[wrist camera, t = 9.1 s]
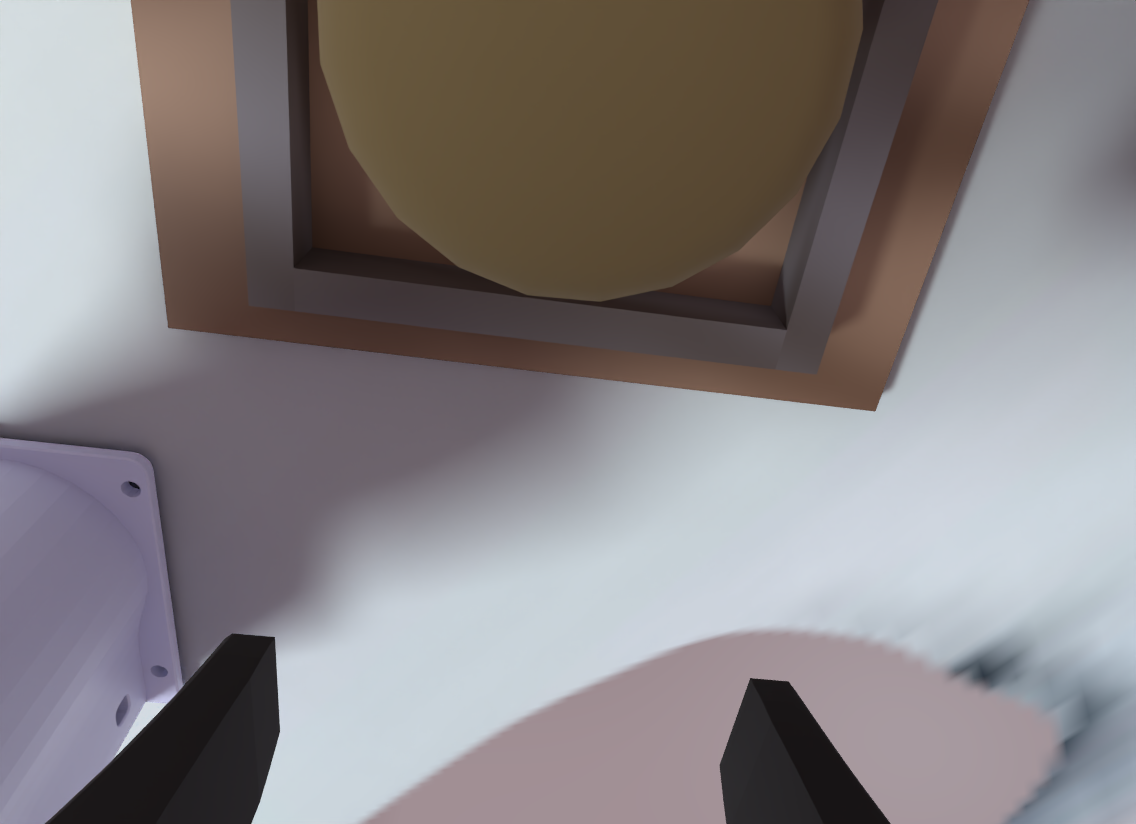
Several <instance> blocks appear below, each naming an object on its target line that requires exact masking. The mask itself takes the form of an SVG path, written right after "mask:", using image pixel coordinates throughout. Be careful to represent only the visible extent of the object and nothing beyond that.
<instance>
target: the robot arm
mask: <svg viewBox="0 0 1136 824" xmlns="http://www.w3.org/2000/svg"><path fill="white" fill-rule="evenodd" d="M128 481H130V482H134V483H136V484H137V485H138V486H139V487H140V489H137V488H134V487H132V486H131V485H130V484H129V482H128ZM161 666H163V667H161ZM145 702H156V703H167V704H166V706H165V707H164V708H163V709H162V710H161V711H160V712H159V713H158V714H157V715H156V716H155V717H154V718H153V719H152V720H151V721H150V722H149V723H148V724H147V725H146V726H145V727H144V728H143V729H142V731H141V732H140V733H139V734H138V735H137V736H136V737H135V738H134V739H133V740H132V741H131V742H130V743H129V744H128V745H127V746H126V747H125V748H124V749H123V750H122V751H121V752H120V753H119V754H118V755H117V756H116V757H115V755H116V753H117V752H118V750H119V748H120V746H121V744H122V743H123V741H124V739H125V737H126V736H127V734H128V732H129V730H130V728H131V727H132V725H133V723H134V721H135V720H136V718H137V716H138V714H139V712H140V711H141V709H142V707H143V705H144V704H145ZM279 733H280V724H279V705H278V687H277V669H276V650H275V637H267V636H255V635H244V634H231V635H230V636H228V637H227V638H225V639H224V640H223V642H222V643H221V644H220V645H219V646H218V647H217V649H216V650H215V651H214V652H213V653H212V654H211V656H210V657H209V658H208V659H207V660H206V661H205V662H204V664H203V665H202V666H201V667H200V668H199V669H198V670H197V672H196V673H195V674H194V675H193V676H192V677H191V678H190V679H189V681H188V682H187V683H186V684H185V685H184V686H183V681H182V674H181V667H180V660H179V652H178V645H177V638H176V630H175V623H174V616H173V609H172V601H171V594H170V587H169V579H168V572H167V565H166V557H165V550H164V543H163V536H162V528H161V521H160V514H159V506H158V499H157V492H156V485H155V477H154V470H153V467H152V464H151V462H150V461H149V460H148V459H147V458H146V457H144V456H143V455H141V454H139V453H135V452H130V451H120V450H111V449H102V448H92V447H83V446H73V445H64V444H54V443H45V442H35V441H26V440H16V439H7V438H0V824H251V823H252V820H253V818H254V815H255V813H256V810H257V808H258V805H259V803H260V799H261V796H262V793H263V789H264V786H265V783H266V779H267V776H268V772H269V769H270V765H271V762H272V758H273V755H274V751H275V747H276V744H277V740H278V737H279ZM114 757H115V758H114ZM720 773H721V782H722V790H723V801H724V808H725V816H726V823H727V824H890V822H889V821H888V820H887V818H886V817H885V816H884V814H883V813H882V812H881V810H880V809H879V808H878V806H877V805H876V804H875V802H874V801H873V800H872V798H871V797H870V796H869V794H868V793H867V792H866V790H865V789H864V788H863V786H862V785H861V784H860V782H859V781H858V779H857V778H856V777H855V775H854V774H853V773H852V771H851V770H850V768H849V767H848V766H847V764H846V763H845V761H844V760H843V759H842V757H841V756H840V754H839V753H838V751H837V750H836V749H835V747H834V746H833V744H832V743H831V742H830V740H829V739H828V737H827V736H826V734H825V733H824V732H823V730H822V729H821V727H820V726H819V724H818V723H817V722H816V720H815V719H814V717H813V716H812V714H811V713H810V711H809V710H808V708H807V707H806V705H805V704H804V703H803V701H802V700H801V698H800V697H799V695H798V694H797V692H796V691H795V690H794V688H793V687H792V686H791V685H790V683H789V682H787V681H776V680H764V679H752V678H750V681H749V684H748V686H747V690H746V692H745V695H744V698H743V700H742V703H741V706H740V709H739V712H738V715H737V717H736V721H735V723H734V726H733V729H732V732H731V735H730V737H729V740H728V743H727V746H726V749H725V752H724V754H723V758H722V760H721V763H720Z"/></svg>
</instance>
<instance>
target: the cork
mask: <svg viewBox="0 0 1136 824" xmlns="http://www.w3.org/2000/svg"><path fill="white" fill-rule="evenodd" d="M317 9H318V30H319V51H320V64H321V67H322V70H323V73H324V76H325V79H326V82H327V85H328V88H329V91H330V94H331V97H332V100H333V103H334V105H335V108H336V111H337V114H338V117H339V120H340V123H341V126H342V129H343V132H344V135H345V138H346V141H347V144H348V147H349V149H350V151H351V152H352V153H353V155H354V156H355V158H356V159H357V161H358V162H359V164H360V165H361V166H362V168H363V169H364V171H365V172H366V174H367V175H368V177H369V178H370V179H371V181H372V182H373V184H374V185H375V187H376V188H377V189H378V191H379V192H380V194H381V195H382V197H383V198H384V200H385V201H386V202H387V204H388V205H389V207H390V208H391V210H392V211H393V212H394V214H395V215H396V217H397V218H398V219H399V220H401V221H402V222H403V223H404V224H405V225H407V226H408V227H409V228H410V229H412V230H413V231H414V232H415V233H417V234H418V235H419V236H420V237H422V238H423V239H424V240H425V241H427V242H428V243H429V244H430V245H432V246H433V247H434V248H435V249H437V250H438V251H439V252H440V253H441V254H443V255H444V256H445V257H446V258H448V259H449V260H450V261H451V262H453V263H454V264H455V265H456V266H458V267H459V268H462V269H464V270H467V271H469V272H472V273H474V274H477V275H479V276H481V277H484V278H486V279H489V280H491V281H494V282H496V283H499V284H501V285H504V286H506V287H508V288H511V289H513V290H516V291H518V292H521V293H523V294H526V295H530V296H541V297H553V298H564V299H575V300H586V301H597V302H602V301H606V300H611V299H616V298H621V297H625V296H630V295H635V294H640V293H645V292H649V291H654V290H659V289H664V288H668V287H673V286H674V285H676V284H678V283H680V282H682V281H684V280H686V279H687V278H689V277H691V276H693V275H695V274H697V273H699V272H700V271H702V270H704V269H706V268H708V267H710V266H711V265H713V264H715V263H717V262H719V261H721V260H723V259H724V258H726V257H728V256H730V255H732V254H734V253H735V252H737V251H739V250H740V249H741V248H742V247H743V246H744V245H745V244H746V243H747V242H748V241H749V240H750V239H751V238H753V237H754V236H755V235H756V234H757V233H758V232H759V231H760V230H761V229H762V228H763V227H764V226H765V225H766V224H767V223H768V222H769V221H770V220H771V219H772V218H773V217H774V216H775V215H776V214H777V213H778V212H779V211H780V210H781V209H782V208H783V207H784V206H785V205H786V204H787V203H788V202H789V201H790V200H791V199H792V198H793V197H794V196H795V195H796V194H797V193H798V191H799V190H800V188H801V186H802V184H803V183H804V181H805V179H806V177H807V176H808V174H809V172H810V170H811V169H812V167H813V165H814V163H815V162H816V160H817V158H818V156H819V155H820V153H821V151H822V149H823V148H824V146H825V144H826V142H827V141H828V139H829V137H830V135H831V134H832V132H833V130H834V129H835V127H836V125H837V123H838V122H839V120H840V118H841V114H842V110H843V106H844V102H845V98H846V94H847V90H848V86H849V82H850V78H851V74H852V70H853V66H854V62H855V59H856V55H857V51H858V47H859V43H860V39H861V35H862V31H863V9H862V0H317Z"/></svg>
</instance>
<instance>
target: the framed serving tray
mask: <svg viewBox="0 0 1136 824" xmlns="http://www.w3.org/2000/svg"><path fill="white" fill-rule="evenodd" d="M1028 2H1029V0H862V9H863V31H862V35H861V39H860V43H859V47H858V51H857V55H856V59H855V62H854V66H853V70H852V74H851V78H850V82H849V86H848V90H847V94H846V98H845V102H844V106H843V110H842V114H841V118H840V120H839V122H838V123H837V125H836V127H835V129H834V130H833V132H832V134H831V135H830V137H829V139H828V141H827V142H826V144H825V146H824V148H823V149H822V151H821V153H820V155H819V156H818V158H817V160H816V162H815V163H814V165H813V167H812V169H811V170H810V172H809V174H808V176H807V177H806V179H805V181H804V183H803V184H802V186H801V188H800V190H799V191H798V193H797V194H796V195H795V196H794V197H793V198H792V199H791V200H790V201H789V202H788V203H787V204H786V205H785V206H784V207H783V208H782V209H781V210H780V211H779V212H778V213H777V214H776V215H775V216H774V217H773V218H772V219H771V220H770V221H769V222H768V223H767V224H766V225H765V226H764V227H763V228H762V229H761V230H760V231H759V232H758V233H757V234H756V235H755V236H754V237H753V238H751V239H750V240H749V241H748V242H747V243H746V244H745V245H744V246H743V247H742V248H741V249H740V250H739V251H737V252H735V253H734V254H732V255H730V256H728V257H726V258H724V259H723V260H721V261H719V262H717V263H715V264H713V265H711V266H710V267H708V268H706V269H704V270H702V271H700V272H699V273H697V274H695V275H693V276H691V277H689V278H687V279H686V280H684V281H682V282H680V283H678V284H676V285H674V286H673V287H668V288H664V289H659V290H654V291H649V292H645V293H640V294H635V295H630V296H625V297H621V298H616V299H611V300H606V301H602V302H597V301H586V300H575V299H564V298H553V297H541V296H530V295H526V294H523V293H521V292H518V291H516V290H513V289H511V288H508V287H506V286H504V285H501V284H499V283H496V282H494V281H491V280H489V279H486V278H484V277H481V276H479V275H477V274H474V273H472V272H469V271H467V270H464V269H462V268H459V267H458V266H456V265H455V264H454V263H453V262H451V261H450V260H449V259H448V258H446V257H445V256H444V255H443V254H441V253H440V252H439V251H438V250H437V249H435V248H434V247H433V246H432V245H430V244H429V243H428V242H427V241H425V240H424V239H423V238H422V237H420V236H419V235H418V234H417V233H415V232H414V231H413V230H412V229H410V228H409V227H408V226H407V225H405V224H404V223H403V222H402V221H401V220H399V219H398V218H397V217H396V215H395V214H394V212H393V211H392V210H391V208H390V207H389V205H388V204H387V202H386V201H385V200H384V198H383V197H382V195H381V194H380V192H379V191H378V189H377V188H376V187H375V185H374V184H373V182H372V181H371V179H370V178H369V177H368V175H367V174H366V172H365V171H364V169H363V168H362V166H361V165H360V164H359V162H358V161H357V159H356V158H355V156H354V155H353V153H352V152H351V151H350V149H349V147H348V144H347V141H346V138H345V135H344V132H343V129H342V126H341V123H340V120H339V117H338V114H337V111H336V108H335V105H334V103H333V100H332V97H331V94H330V91H329V88H328V85H327V82H326V79H325V76H324V73H323V70H322V67H321V64H320V51H319V30H318V9H317V0H131V7H132V15H133V24H134V33H135V42H136V50H137V59H138V68H139V76H140V85H141V94H142V103H143V111H144V120H145V129H146V138H147V146H148V155H149V164H150V173H151V181H152V190H153V199H154V208H155V216H156V225H157V234H158V243H159V251H160V260H161V269H162V278H163V286H164V295H165V304H166V312H167V321H168V328H174V329H183V330H191V331H200V332H208V333H217V334H225V335H233V336H242V337H250V338H259V339H267V340H276V341H284V342H293V343H301V344H310V345H318V346H327V347H335V348H343V349H352V350H360V351H369V352H377V353H386V354H394V355H403V356H411V357H420V358H428V359H437V360H445V361H453V362H462V363H470V364H479V365H487V366H496V367H504V368H513V369H521V370H530V371H538V372H547V373H555V374H563V375H572V376H580V377H589V378H597V379H606V380H614V381H623V382H631V383H640V384H648V385H656V386H665V387H673V388H682V389H690V390H699V391H707V392H716V393H724V394H733V395H741V396H750V397H758V398H766V399H775V400H783V401H792V402H800V403H809V404H817V405H826V406H834V407H843V408H851V409H860V410H868V411H876V408H877V405H878V403H879V400H880V397H881V395H882V392H883V389H884V387H885V384H886V381H887V379H888V376H889V373H890V371H891V368H892V365H893V363H894V360H895V357H896V355H897V352H898V349H899V347H900V344H901V341H902V339H903V336H904V333H905V331H906V328H907V325H908V323H909V320H910V317H911V315H912V312H913V309H914V307H915V304H916V301H917V299H918V296H919V293H920V291H921V288H922V285H923V283H924V280H925V277H926V275H927V272H928V269H929V267H930V264H931V261H932V259H933V256H934V253H935V251H936V248H937V245H938V243H939V240H940V237H941V235H942V232H943V229H944V227H945V224H946V221H947V219H948V216H949V213H950V211H951V208H952V205H953V203H954V200H955V197H956V195H957V192H958V189H959V187H960V184H961V181H962V179H963V176H964V173H965V170H966V168H967V165H968V162H969V160H970V157H971V154H972V152H973V149H974V146H975V144H976V141H977V138H978V136H979V133H980V130H981V128H982V125H983V122H984V120H985V117H986V114H987V112H988V109H989V106H990V104H991V101H992V98H993V96H994V93H995V90H996V88H997V85H998V82H999V80H1000V77H1001V74H1002V72H1003V69H1004V66H1005V64H1006V61H1007V58H1008V56H1009V53H1010V50H1011V48H1012V45H1013V42H1014V40H1015V37H1016V34H1017V32H1018V29H1019V26H1020V24H1021V21H1022V18H1023V16H1024V13H1025V10H1026V8H1027V5H1028Z"/></svg>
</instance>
